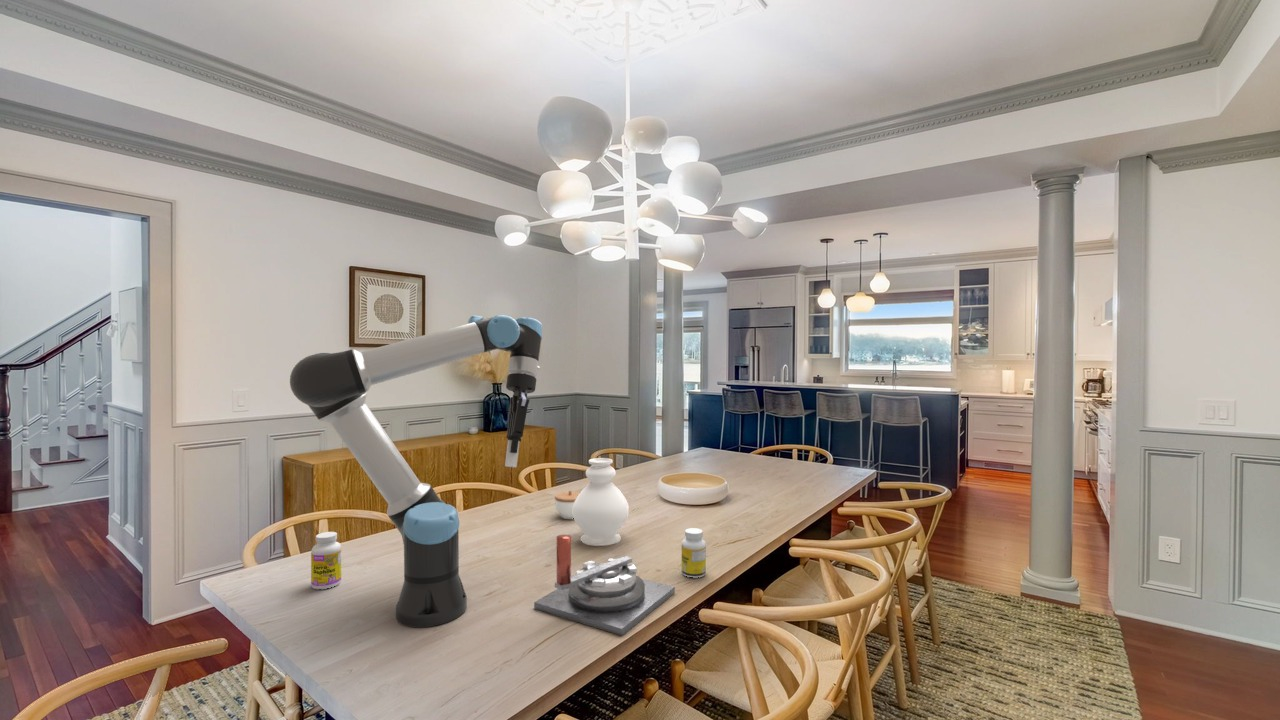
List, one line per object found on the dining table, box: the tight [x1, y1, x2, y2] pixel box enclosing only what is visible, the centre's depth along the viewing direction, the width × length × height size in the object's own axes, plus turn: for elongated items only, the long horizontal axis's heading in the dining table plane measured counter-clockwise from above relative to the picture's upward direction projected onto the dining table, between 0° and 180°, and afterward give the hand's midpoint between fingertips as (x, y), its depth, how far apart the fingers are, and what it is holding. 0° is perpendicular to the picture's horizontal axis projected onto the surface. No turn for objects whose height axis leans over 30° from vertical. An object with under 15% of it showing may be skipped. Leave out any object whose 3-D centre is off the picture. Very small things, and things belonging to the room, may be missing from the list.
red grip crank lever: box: [554, 534, 638, 597], centre depth 130 cm, size 22×14×14 cm, turn 137°
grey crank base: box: [533, 575, 676, 637], centre depth 132 cm, size 24×24×4 cm
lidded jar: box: [554, 490, 581, 520], centre depth 200 cm, size 11×11×9 cm
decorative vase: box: [572, 457, 630, 547], centre depth 176 cm, size 18×18×25 cm
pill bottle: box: [681, 527, 707, 579], centre depth 148 cm, size 6×6×12 cm
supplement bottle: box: [310, 531, 342, 590], centre depth 141 cm, size 7×7×13 cm
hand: (510, 466), depth 140 cm, fingers closed
